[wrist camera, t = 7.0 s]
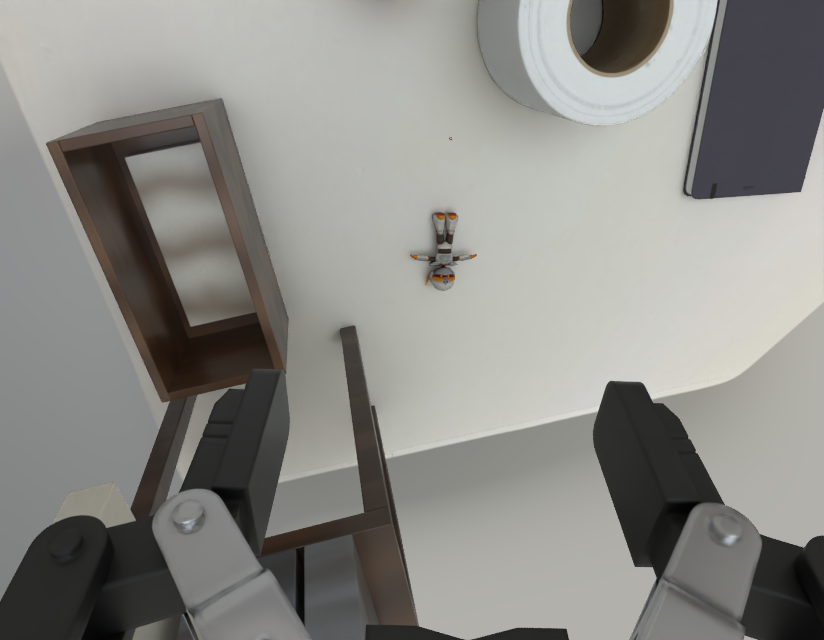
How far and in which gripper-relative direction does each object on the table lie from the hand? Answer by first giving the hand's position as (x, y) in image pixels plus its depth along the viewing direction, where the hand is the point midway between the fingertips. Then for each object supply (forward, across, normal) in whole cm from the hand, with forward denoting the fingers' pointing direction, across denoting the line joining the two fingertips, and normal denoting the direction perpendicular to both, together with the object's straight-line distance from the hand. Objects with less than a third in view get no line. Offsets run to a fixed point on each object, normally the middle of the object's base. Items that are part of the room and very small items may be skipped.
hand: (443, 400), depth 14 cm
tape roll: (+47, -12, -3) cm, 48 cm away
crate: (+38, +20, +15) cm, 45 cm away
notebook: (+49, -34, +2) cm, 60 cm away
